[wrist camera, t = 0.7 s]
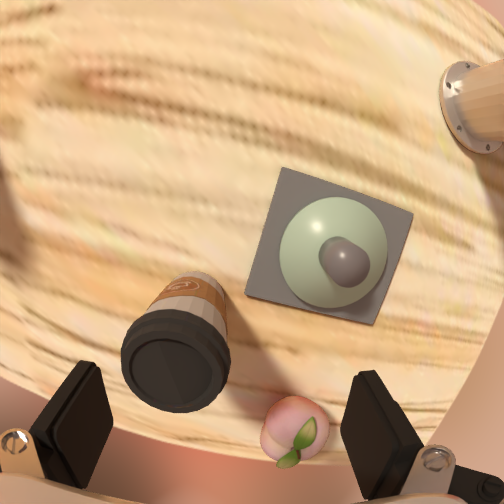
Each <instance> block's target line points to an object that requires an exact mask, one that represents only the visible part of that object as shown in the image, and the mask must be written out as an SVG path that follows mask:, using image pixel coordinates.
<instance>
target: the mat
mask: <svg viewBox="0 0 504 504" xmlns="http://www.w3.org/2000/svg"><path fill="white" fill-rule="evenodd" d="M328 197H342V198H347V199H351V200H355V201H357V202H359V203H361V204H363V205H365V206H366V207H368V208H369V209H370V210H371V211H372V212H373V213H374V214H375V215H376V216H377V218H378V219H379V221H380V222H381V224H382V226H383V228H384V231H385V234H386V239H387V248H388V250H387V259H386V264H385V267H384V270H383V272H382V275H381V277H380V278H379V280H378V282H377V283H376V284H375V286H374V287H373V288H372V289H371V290H370V291H369V292H368V293H367V294H366V295H365V296H364V297H362V298H361V299H359V300H358V301H356V302H354V303H352V304H349V305H346V306H342V307H337V308H323V307H317V306H314V305H311V304H309V303H307V302H305V301H304V300H302V299H300V298H299V297H298V296H297V295H296V294H295V293H294V292H293V291H292V290H291V289H290V287H289V286H288V284H287V282H286V280H285V278H284V276H283V274H282V270H281V267H280V261H279V248H280V242H281V238H282V235H283V233H284V230H285V228H286V227H287V225H288V223H289V222H290V220H291V219H292V218H293V217H294V215H295V214H296V213H297V212H298V211H300V210H301V209H302V208H303V207H305V206H306V205H308V204H310V203H312V202H314V201H316V200H319V199H322V198H328ZM412 217H413V213H411V212H408V211H406V210H403V209H401V208H398V207H396V206H393V205H391V204H388V203H386V202H383V201H380V200H378V199H375V198H372V197H370V196H367V195H364V194H362V193H359V192H356V191H353V190H351V189H348V188H345V187H342V186H339V185H337V184H334V183H331V182H328V181H325V180H322V179H319V178H316V177H313V176H310V175H307V174H304V173H301V172H297V171H294V170H291V169H288V168H285V167H282V168H281V171H280V175H279V178H278V182H277V185H276V188H275V192H274V195H273V198H272V202H271V205H270V208H269V212H268V215H267V219H266V222H265V225H264V229H263V232H262V235H261V239H260V242H259V245H258V249H257V252H256V255H255V259H254V262H253V265H252V269H251V272H250V275H249V279H248V282H247V285H246V289H245V292H244V294H245V295H249V296H253V297H257V298H261V299H265V300H269V301H273V302H277V303H281V304H285V305H289V306H293V307H298V308H302V309H306V310H310V311H315V312H319V313H323V314H328V315H332V316H336V317H341V318H345V319H350V320H354V321H359V322H364V323H368V324H373V322H374V320H375V318H376V315H377V313H378V311H379V308H380V306H381V304H382V301H383V299H384V296H385V294H386V291H387V289H388V286H389V283H390V281H391V278H392V276H393V273H394V270H395V268H396V265H397V262H398V259H399V257H400V254H401V251H402V248H403V245H404V242H405V239H406V236H407V233H408V230H409V227H410V224H411V221H412Z"/></svg>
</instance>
